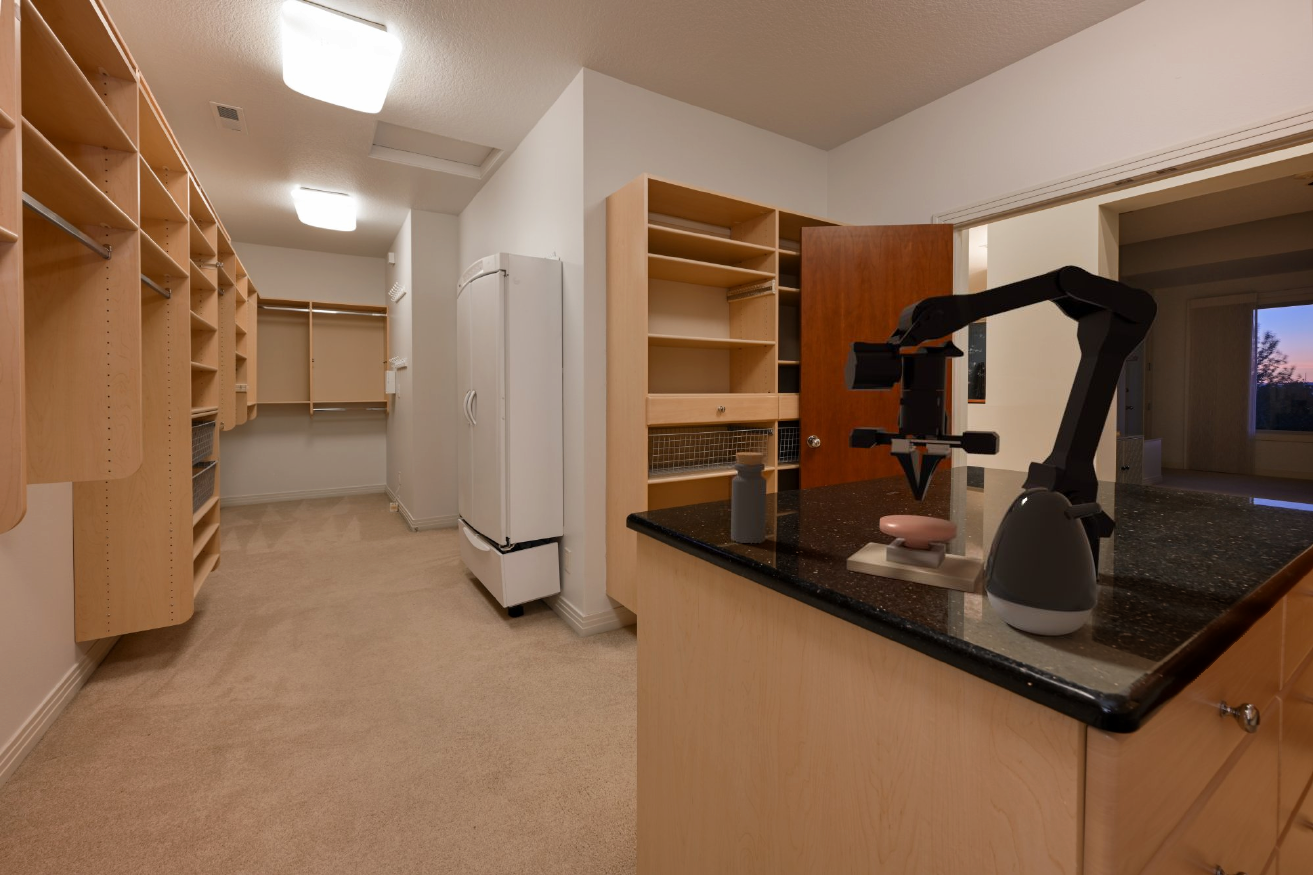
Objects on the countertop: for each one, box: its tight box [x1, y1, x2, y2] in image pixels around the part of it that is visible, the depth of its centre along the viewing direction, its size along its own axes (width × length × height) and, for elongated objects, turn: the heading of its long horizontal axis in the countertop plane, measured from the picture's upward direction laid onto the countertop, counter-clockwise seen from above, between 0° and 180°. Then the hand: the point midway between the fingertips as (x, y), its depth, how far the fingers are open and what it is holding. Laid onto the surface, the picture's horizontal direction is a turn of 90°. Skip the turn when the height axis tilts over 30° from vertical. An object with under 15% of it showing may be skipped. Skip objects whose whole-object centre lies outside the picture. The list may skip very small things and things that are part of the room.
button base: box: [846, 537, 986, 593], centre depth 82 cm, size 16×12×4 cm
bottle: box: [730, 451, 767, 545], centre depth 98 cm, size 6×6×15 cm
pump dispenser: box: [983, 488, 1103, 636], centre depth 62 cm, size 10×10×15 cm
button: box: [879, 514, 958, 549], centre depth 82 cm, size 10×10×3 cm
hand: (919, 500), depth 82 cm, fingers closed
